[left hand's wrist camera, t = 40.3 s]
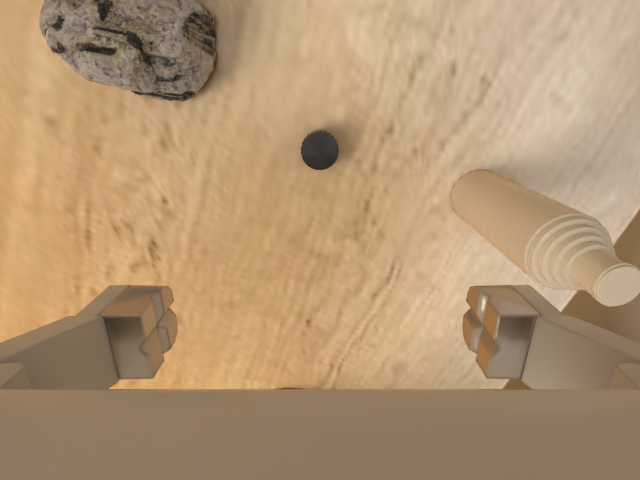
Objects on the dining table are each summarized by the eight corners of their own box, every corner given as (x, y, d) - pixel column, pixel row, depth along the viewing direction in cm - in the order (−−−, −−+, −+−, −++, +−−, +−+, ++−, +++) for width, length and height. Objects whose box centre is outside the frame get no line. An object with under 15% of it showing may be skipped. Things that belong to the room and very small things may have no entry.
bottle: (457, 166, 41) (592, 235, 21) (509, 173, 41) (691, 247, 21) (444, 217, 43) (555, 323, 23) (493, 223, 43) (646, 333, 23)
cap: (299, 164, 41) (298, 167, 39) (303, 127, 40) (303, 129, 38) (334, 169, 41) (335, 172, 39) (340, 132, 40) (341, 134, 38)
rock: (233, 21, 36) (211, 2, 29) (196, 119, 39) (169, 123, 32) (83, -63, 34) (22, -105, 27) (57, 49, 37) (-3, 36, 30)
